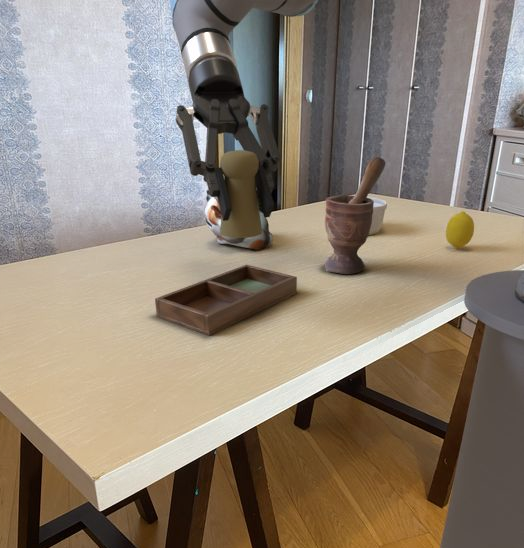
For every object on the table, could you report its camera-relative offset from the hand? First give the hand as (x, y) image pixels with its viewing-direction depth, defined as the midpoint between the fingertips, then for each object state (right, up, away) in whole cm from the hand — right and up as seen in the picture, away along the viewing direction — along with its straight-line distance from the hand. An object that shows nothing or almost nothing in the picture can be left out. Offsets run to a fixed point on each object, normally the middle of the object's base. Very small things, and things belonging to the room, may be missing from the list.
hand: (248, 213), depth 71 cm
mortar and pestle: (+19, -2, +32) cm, 37 cm away
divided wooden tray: (-3, -11, +14) cm, 18 cm away
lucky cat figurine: (-3, +5, +46) cm, 46 cm away
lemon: (+44, +3, +43) cm, 61 cm away
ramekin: (+25, +10, +57) cm, 63 cm away
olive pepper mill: (-1, -2, +5) cm, 5 cm away
